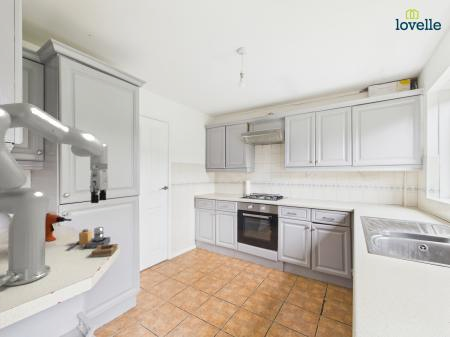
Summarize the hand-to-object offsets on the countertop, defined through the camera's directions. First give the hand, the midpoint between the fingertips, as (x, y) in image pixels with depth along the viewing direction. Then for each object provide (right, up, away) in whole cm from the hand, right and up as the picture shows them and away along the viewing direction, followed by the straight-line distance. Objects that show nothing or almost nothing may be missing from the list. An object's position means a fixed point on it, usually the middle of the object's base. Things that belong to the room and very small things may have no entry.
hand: (98, 201), depth 104 cm
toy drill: (-25, -22, +5) cm, 34 cm away
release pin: (-9, -22, +3) cm, 24 cm away
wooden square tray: (+9, -22, -10) cm, 26 cm away
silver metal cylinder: (0, -22, 0) cm, 22 cm away
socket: (0, -22, 0) cm, 22 cm away
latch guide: (-8, -22, 0) cm, 24 cm away
